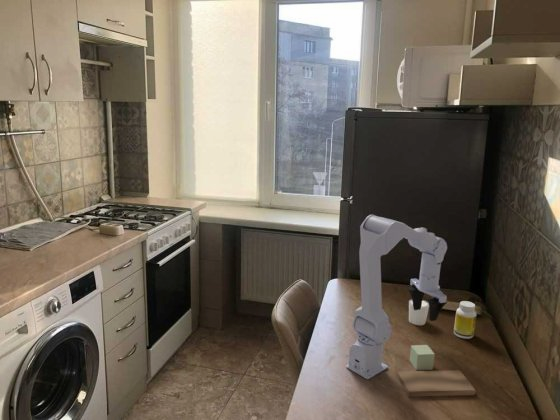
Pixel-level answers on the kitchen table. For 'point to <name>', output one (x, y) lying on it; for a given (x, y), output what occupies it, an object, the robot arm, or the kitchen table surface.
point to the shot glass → (418, 313)
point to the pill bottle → (465, 320)
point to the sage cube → (422, 357)
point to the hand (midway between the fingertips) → (424, 314)
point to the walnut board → (435, 383)
